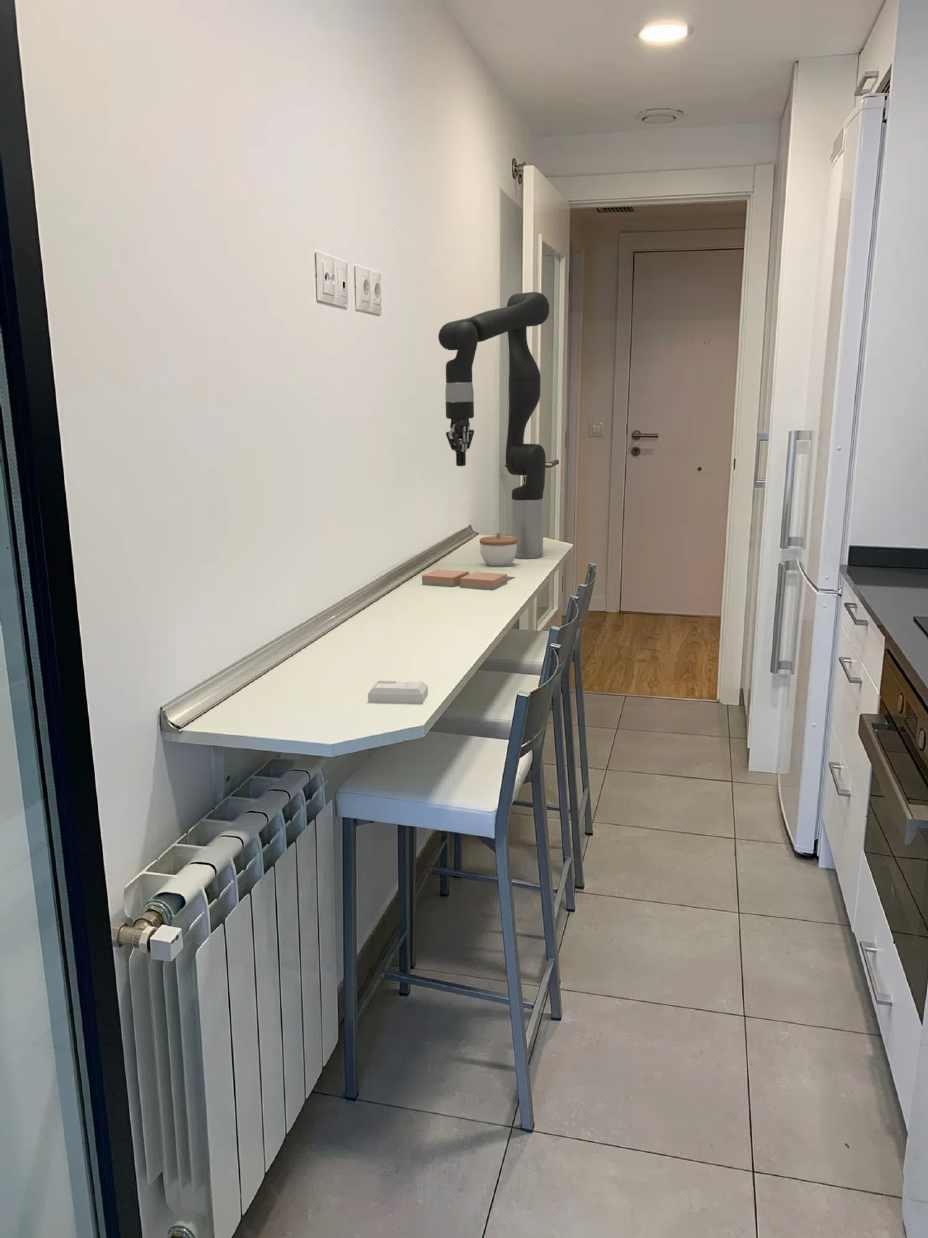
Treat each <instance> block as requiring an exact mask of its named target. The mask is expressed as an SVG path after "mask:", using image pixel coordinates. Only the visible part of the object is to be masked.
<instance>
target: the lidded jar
mask: <svg viewBox="0 0 928 1238" xmlns="http://www.w3.org/2000/svg"><path fill="white" fill-rule="evenodd" d="M479 547H480V548H479V550H480V555H481V558H482V560H483V562H485V564H486V565H488V566H489V567H490V566H491V567H503V568H507V567H510V565H511V564H512V563H513V561H514V560H515V558H516V557H515V556H516V552H517V538H515V537H512V536H508V535H506V536H505V535H501V533H500V532H497V533H496V535H492V536H485V537H481V538H479Z"/></svg>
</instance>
